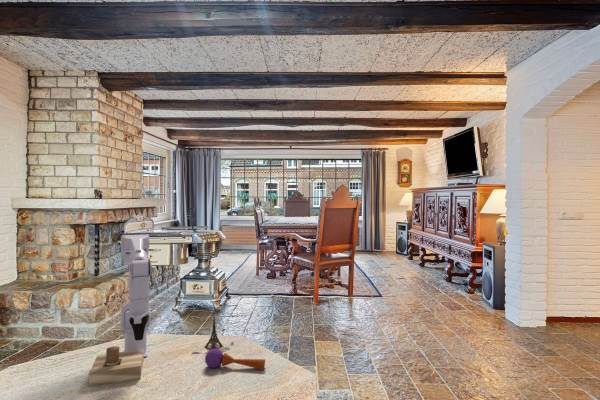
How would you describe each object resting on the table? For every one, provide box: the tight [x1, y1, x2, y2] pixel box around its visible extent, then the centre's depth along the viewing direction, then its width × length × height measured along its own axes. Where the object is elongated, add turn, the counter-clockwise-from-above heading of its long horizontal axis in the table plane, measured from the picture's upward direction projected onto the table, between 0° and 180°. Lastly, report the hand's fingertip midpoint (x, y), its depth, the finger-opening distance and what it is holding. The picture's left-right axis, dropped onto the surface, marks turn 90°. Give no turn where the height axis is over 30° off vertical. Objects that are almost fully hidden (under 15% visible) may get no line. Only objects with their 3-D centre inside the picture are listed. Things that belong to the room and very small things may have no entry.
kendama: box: [204, 349, 266, 371], centre depth 117 cm, size 6×6×20 cm
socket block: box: [88, 349, 144, 387], centre depth 113 cm, size 13×14×4 cm
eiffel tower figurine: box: [191, 315, 235, 355], centre depth 133 cm, size 15×10×13 cm
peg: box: [105, 345, 120, 367], centre depth 111 cm, size 4×4×8 cm
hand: (139, 339), depth 114 cm, fingers closed
